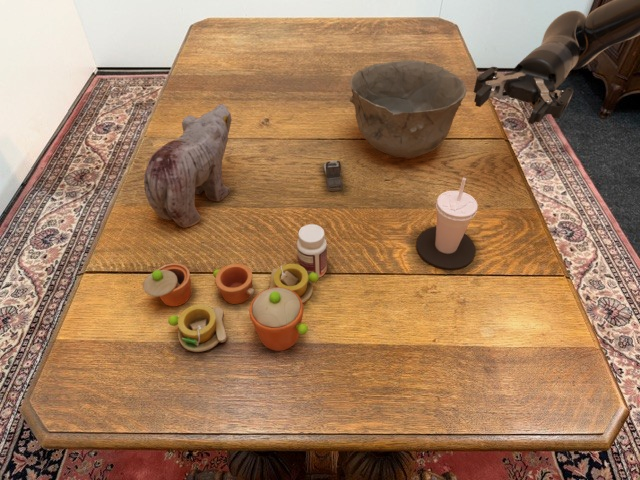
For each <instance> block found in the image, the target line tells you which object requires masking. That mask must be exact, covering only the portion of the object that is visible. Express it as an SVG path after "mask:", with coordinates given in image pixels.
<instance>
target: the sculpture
mask: <svg viewBox="0 0 640 480" xmlns="http://www.w3.org/2000/svg"><path fill="white" fill-rule="evenodd" d="M231 125H232V115H231V112H230V110H229V108H228V107H227V106H226V105H225V104H224V103H219V104H218V105H217V106H215V108H214V109H212V110H209V111H208V112H206V113H204V114H202V115H201V116H199V117H195V116H193V115H187V116H185V117H183V119H182V121H181V128H182V133H183V134H181V136H179V137H177V138H174V139H173V140H171V141H169V142H167V143H165V144H164V145H161V146H160V147H159V148H158V149H157V150H156V151H155V152H154V153H153V154H152V155H151V157H150V158H149V160H148V163H147V165H146V168H145V172H144V175H143V177H144V178H143V184H144V186H143V188H144V194H145V197H146V199H147V202H148V204H149V205H150V207H151V209H152V210H153V211H154V213H156V214H157V216H159V218H160V219H163V220H167V221H171V220H173V222H175V223H176V225H178V226H179V227H181V228H185V229H186V228H189V227H192V226H194V225H197V224H198V223H199V222H200V220H201V215H200V213H199V211H198V209H197V208H196V204H195V201H196V195H201V194H202V193H203V191H204V194H205V196H206V197H207V198H208V199H209V200H210V201H212V202H220V201H222V200H224V198H226V197H227V196H228V195H229V194H230V191H231V189H230V188H229V187H228V186H226V185H224V181H223V180H224V179H223V160H224V155H225V151H226V149H227V145H228V141H229V133H230V129H231Z"/></svg>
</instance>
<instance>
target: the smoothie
mask: <svg viewBox="0 0 640 480" xmlns="http://www.w3.org/2000/svg"><path fill="white" fill-rule="evenodd" d="M466 181H467V178H466V177H462V179H461V183H460V185H459V190H447V191H444V192H442V193H440V194H439V195H438V196H437V199H436V202H435V208H436V212H437V213H436V225H435V227H436V241H435V246H436V248H437V249H438V250H439V251H441V252H443V253H453V252H455V251H456V250H457V248H458V246H459V243H460V241H461V239H462V237H463V235H464V233H465V234H466V231H467V229H468V227H469V225H470V223H471V222H472V221H471V220H472V219H473V218H475V216H476V215H477V212H478V208H479V205H478V202H477V200H476V199H475V198H474V197H473V196H472V195H471V194H469V193H467V192H464V189H465V186H466Z"/></svg>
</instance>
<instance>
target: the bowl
mask: <svg viewBox="0 0 640 480" xmlns="http://www.w3.org/2000/svg"><path fill="white" fill-rule="evenodd" d="M349 86H350V90H351V93H352V96H351V97H350V98H349V102H350V103H352V105H353V106H354V112H355V120H356V124H357V126H358V130H359V131H360V134H361V135H362V136H363V138H364V139H365V141H367V142H368V144H369V145H370V146H371V147H373V148H374V149H376V150H378V151H380V152H382V153H384V154H386V155H389V156H391V157H396V158H417V157H420V156H423V155H426V154H429V153H432V152H433V151H435V149H437V148H438V147H439V146H440V145H441V144H442V143H443V142H444V141H445V140H446V139H447V137H448V135H449V132H450V130H451V128H452V125H453V121H454V119H455V117H456V114H457V112H458V110H459V108H460V107H461V106H462V101H463V100H464V98H465V97H466V94H467V88H466V84H465V82H464V80H462V79H461V78H460V77H459V76H457V74H455V73H453V72H451V71H450V70H448V69H446V68H444V67H443V66H440V65H438V64H436V63H431V62H426V61H423V60H411V59H410V60H409V59H408V60H406V59H405V60H400V61H391V62H390V61H389V62H382V63H375V64H374V63H373V64H372V65H368V66H366V67H363V68H362V69H360V70H357V72H356V73H354V75H353V76H352V77H351V78H350V81H349Z"/></svg>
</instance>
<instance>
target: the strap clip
mask: <svg viewBox="0 0 640 480" xmlns="http://www.w3.org/2000/svg"><path fill="white" fill-rule="evenodd" d="M341 169H342V165H341V161H340V160H328V161H326V163H324V164H323V171H324V175H325V177H326V185H327V189H328V191H329V192H333V191H334V192H335V191H342V190H344V189H343V188H344V185H343V181H342V179H341V178H340V177H341V172H342V171H341Z"/></svg>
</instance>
